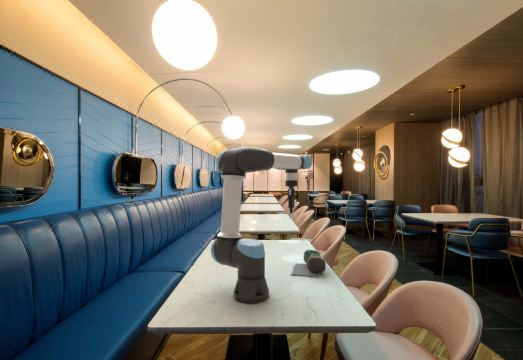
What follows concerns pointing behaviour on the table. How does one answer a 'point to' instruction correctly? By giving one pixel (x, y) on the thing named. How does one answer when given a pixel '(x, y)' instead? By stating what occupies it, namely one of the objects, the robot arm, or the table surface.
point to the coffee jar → (314, 261)
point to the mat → (303, 271)
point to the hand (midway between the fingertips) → (291, 218)
